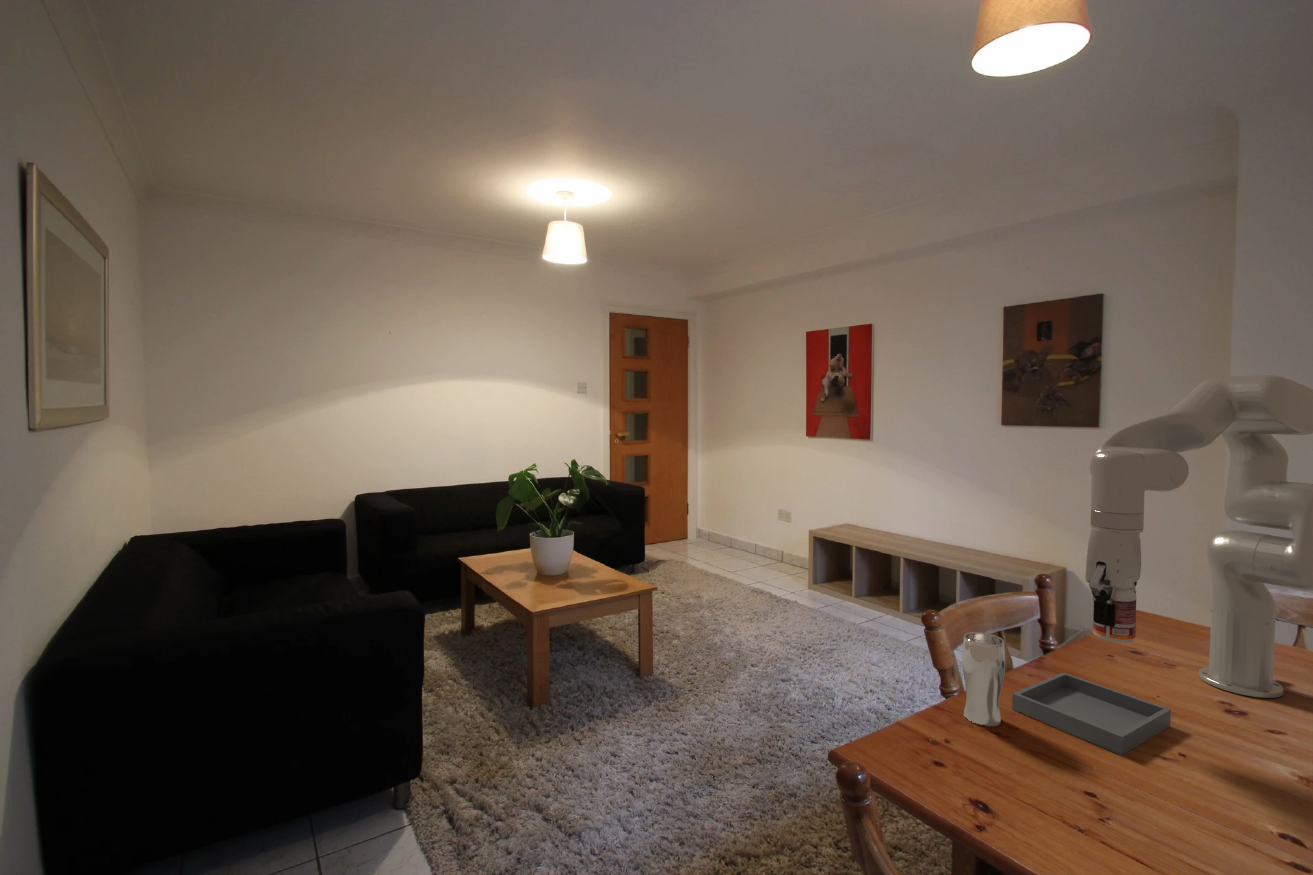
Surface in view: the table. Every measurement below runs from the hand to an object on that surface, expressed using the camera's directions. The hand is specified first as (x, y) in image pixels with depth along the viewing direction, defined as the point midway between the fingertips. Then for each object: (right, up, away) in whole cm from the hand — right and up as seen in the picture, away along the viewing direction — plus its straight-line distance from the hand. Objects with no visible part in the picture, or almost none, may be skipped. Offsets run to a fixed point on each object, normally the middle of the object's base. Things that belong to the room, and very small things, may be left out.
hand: (1113, 619), depth 110 cm
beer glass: (-21, -20, +4) cm, 29 cm away
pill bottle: (0, -3, 0) cm, 3 cm away
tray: (-2, -19, +4) cm, 20 cm away
